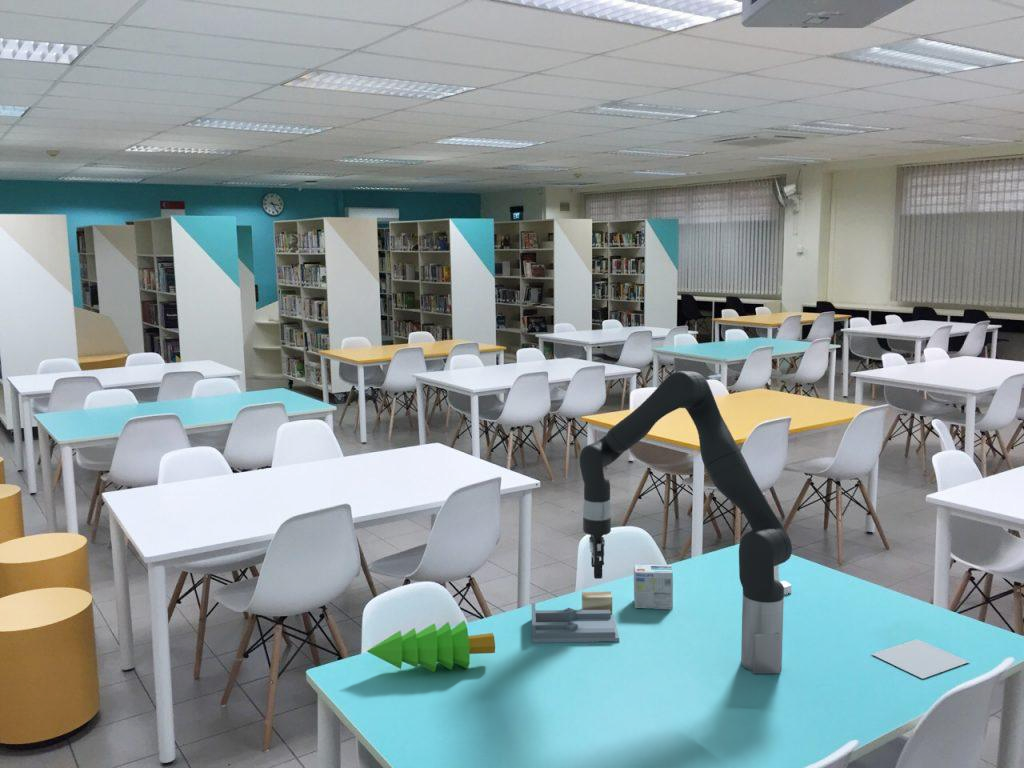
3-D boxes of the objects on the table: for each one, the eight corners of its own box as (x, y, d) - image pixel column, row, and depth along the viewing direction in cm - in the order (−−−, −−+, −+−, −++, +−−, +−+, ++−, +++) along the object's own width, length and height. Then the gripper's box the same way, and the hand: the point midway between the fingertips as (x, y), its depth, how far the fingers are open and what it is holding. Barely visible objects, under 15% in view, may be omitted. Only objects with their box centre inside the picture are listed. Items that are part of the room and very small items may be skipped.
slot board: (619, 641, 211) (619, 624, 210) (532, 642, 211) (532, 625, 210) (613, 618, 224) (613, 602, 224) (531, 619, 225) (531, 603, 224)
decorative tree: (495, 618, 196) (366, 626, 190) (498, 669, 193) (367, 679, 187) (487, 618, 207) (365, 625, 201) (490, 666, 204) (365, 675, 198)
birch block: (612, 614, 227) (612, 597, 227) (582, 614, 228) (582, 597, 227) (610, 608, 231) (610, 591, 231) (581, 608, 231) (581, 591, 231)
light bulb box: (671, 600, 236) (671, 564, 234) (673, 610, 229) (673, 572, 228) (633, 599, 237) (633, 563, 236) (634, 609, 230) (634, 571, 229)
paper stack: (839, 641, 210) (839, 638, 209) (906, 621, 221) (906, 618, 221) (922, 681, 189) (922, 678, 189) (991, 656, 200) (991, 653, 200)
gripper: (613, 523, 219) (613, 582, 221) (608, 507, 233) (607, 562, 235) (584, 523, 219) (584, 582, 221) (581, 507, 233) (581, 563, 235)
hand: (596, 572), depth 228 cm, fingers open, 8 cm apart
